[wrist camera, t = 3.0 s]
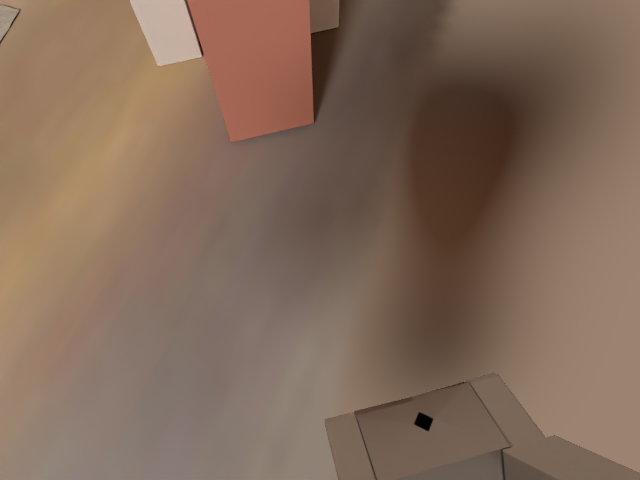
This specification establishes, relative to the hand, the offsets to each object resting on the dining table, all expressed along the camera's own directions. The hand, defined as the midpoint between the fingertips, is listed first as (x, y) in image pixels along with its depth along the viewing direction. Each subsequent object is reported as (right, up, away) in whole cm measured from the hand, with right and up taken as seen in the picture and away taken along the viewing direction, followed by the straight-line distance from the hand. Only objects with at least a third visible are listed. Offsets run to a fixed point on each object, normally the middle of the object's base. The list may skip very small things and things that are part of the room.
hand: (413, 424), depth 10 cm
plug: (-5, +13, +22) cm, 26 cm away
